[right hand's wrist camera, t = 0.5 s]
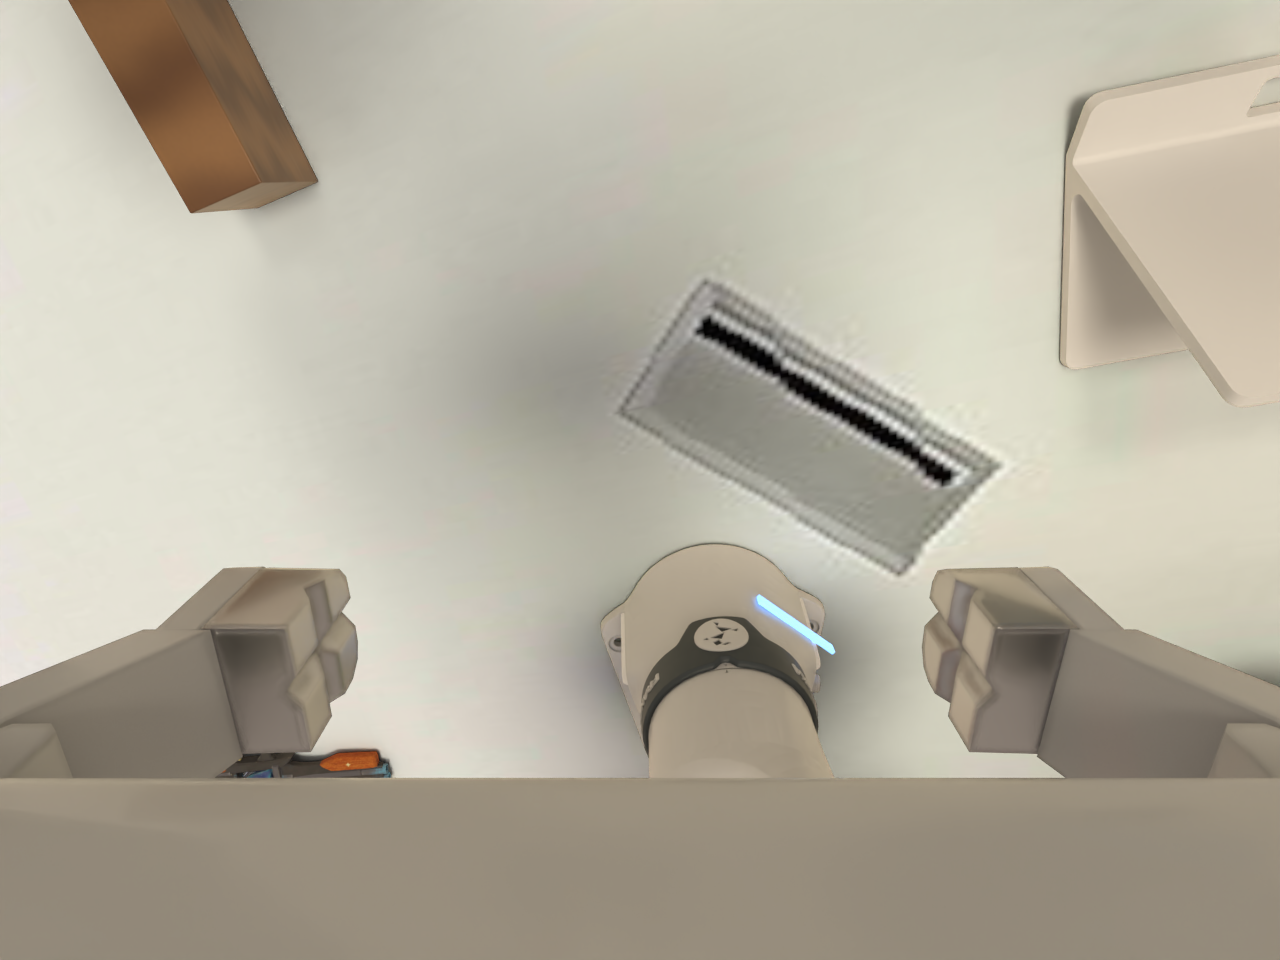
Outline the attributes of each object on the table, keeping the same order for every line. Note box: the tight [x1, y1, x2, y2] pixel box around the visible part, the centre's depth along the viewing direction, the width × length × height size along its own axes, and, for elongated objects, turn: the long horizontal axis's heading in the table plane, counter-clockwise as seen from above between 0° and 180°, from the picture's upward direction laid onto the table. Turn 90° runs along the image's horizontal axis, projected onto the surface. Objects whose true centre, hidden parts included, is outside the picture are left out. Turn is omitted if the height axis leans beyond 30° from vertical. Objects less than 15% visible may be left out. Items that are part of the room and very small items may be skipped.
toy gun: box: [215, 751, 391, 778], centre depth 66 cm, size 3×19×10 cm
